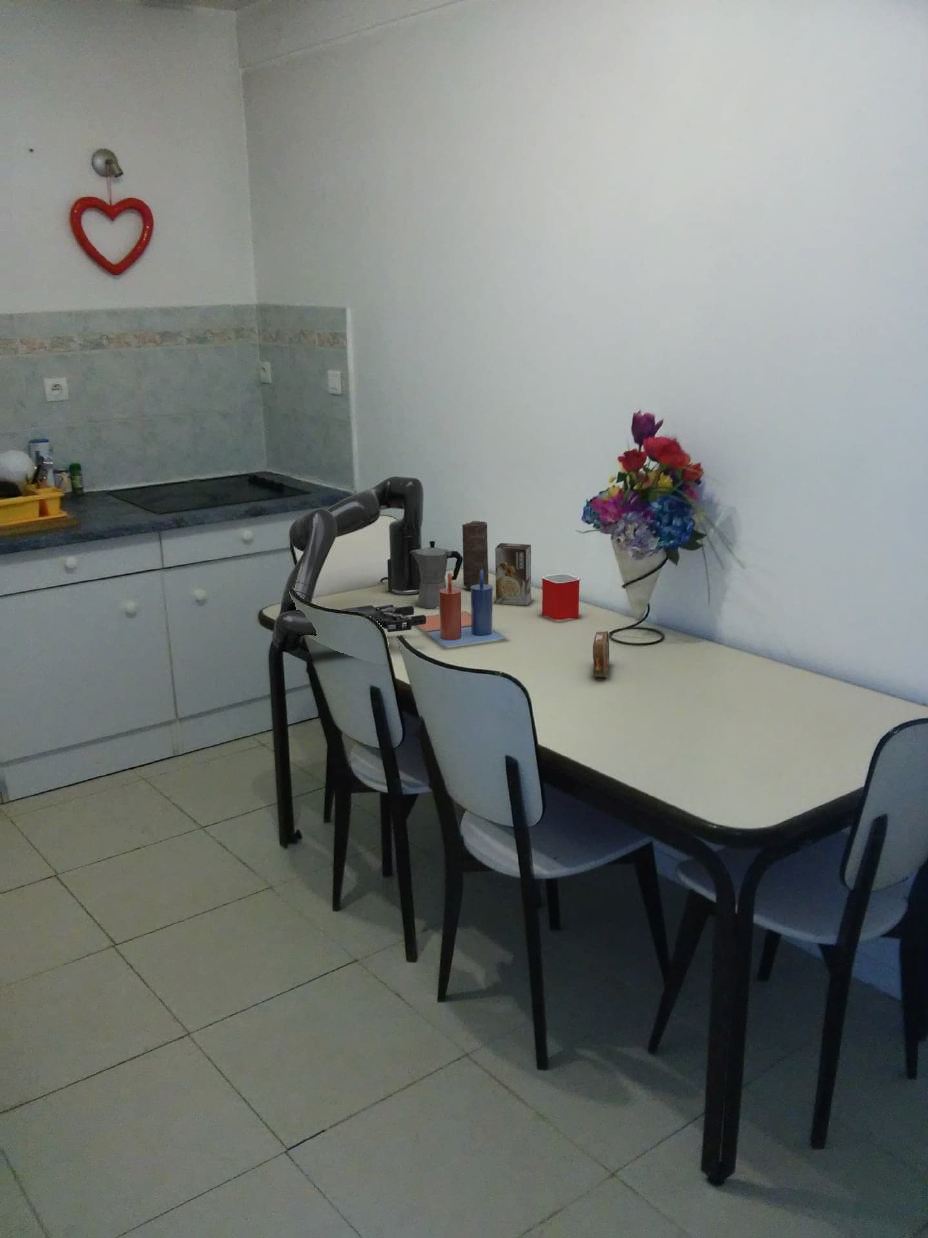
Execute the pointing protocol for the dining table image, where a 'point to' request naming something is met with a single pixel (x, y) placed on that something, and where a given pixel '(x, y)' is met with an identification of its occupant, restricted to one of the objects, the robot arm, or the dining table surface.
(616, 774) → the dining table surface
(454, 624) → the terracotta spoon cup
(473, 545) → the candle
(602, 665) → the tin
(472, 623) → the blue spoon cup
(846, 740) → the dining table surface
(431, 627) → the board
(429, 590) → the coffeepot
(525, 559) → the coffee box
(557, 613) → the mug
